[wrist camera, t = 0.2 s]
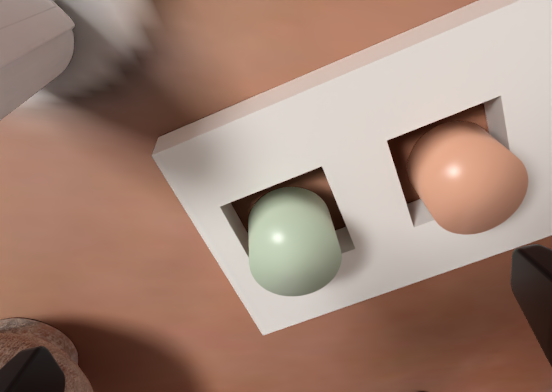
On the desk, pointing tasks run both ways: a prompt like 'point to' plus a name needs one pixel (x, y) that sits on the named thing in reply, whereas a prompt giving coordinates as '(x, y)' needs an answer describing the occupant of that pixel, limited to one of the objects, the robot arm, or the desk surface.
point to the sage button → (292, 242)
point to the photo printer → (31, 48)
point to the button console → (375, 152)
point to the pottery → (29, 333)
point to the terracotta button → (466, 177)
